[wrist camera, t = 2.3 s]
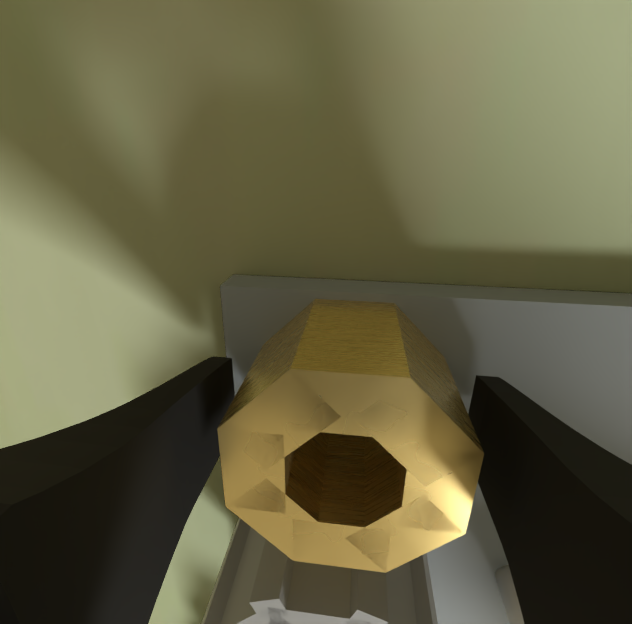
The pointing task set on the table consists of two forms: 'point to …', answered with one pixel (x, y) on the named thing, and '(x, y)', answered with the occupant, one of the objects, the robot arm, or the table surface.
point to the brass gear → (350, 440)
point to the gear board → (465, 363)
